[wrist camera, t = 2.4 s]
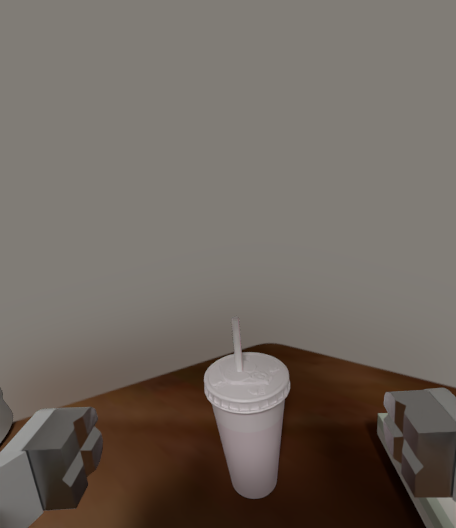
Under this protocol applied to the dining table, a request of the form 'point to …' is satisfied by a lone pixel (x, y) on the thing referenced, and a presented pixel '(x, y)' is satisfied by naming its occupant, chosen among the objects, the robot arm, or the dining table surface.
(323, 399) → the dining table surface
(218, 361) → the smoothie
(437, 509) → the caster cart
